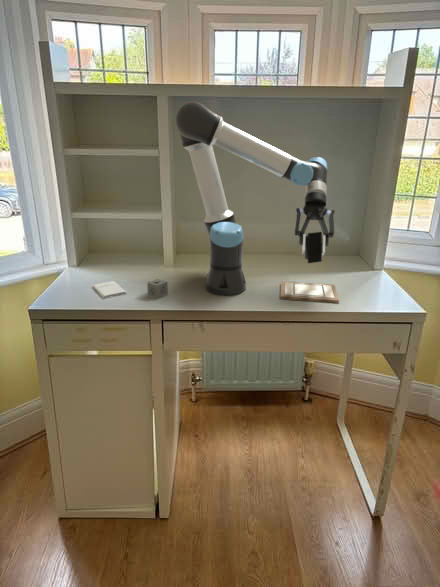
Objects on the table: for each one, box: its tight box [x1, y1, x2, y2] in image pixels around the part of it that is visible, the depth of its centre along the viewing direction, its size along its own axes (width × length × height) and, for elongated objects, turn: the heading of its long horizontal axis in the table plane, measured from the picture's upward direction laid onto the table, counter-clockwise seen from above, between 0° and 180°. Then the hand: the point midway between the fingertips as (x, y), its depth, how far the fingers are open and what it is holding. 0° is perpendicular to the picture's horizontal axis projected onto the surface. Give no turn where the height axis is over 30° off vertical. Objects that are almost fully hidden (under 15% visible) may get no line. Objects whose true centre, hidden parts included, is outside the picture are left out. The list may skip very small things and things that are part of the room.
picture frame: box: [279, 280, 340, 304], centre depth 152 cm, size 20×15×1 cm
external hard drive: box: [92, 280, 127, 299], centre depth 151 cm, size 2×8×12 cm
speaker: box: [304, 231, 323, 264], centre depth 145 cm, size 8×6×10 cm
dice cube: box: [146, 278, 169, 300], centre depth 147 cm, size 5×5×5 cm
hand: (313, 253), depth 142 cm, fingers closed on speaker, 6 cm apart
